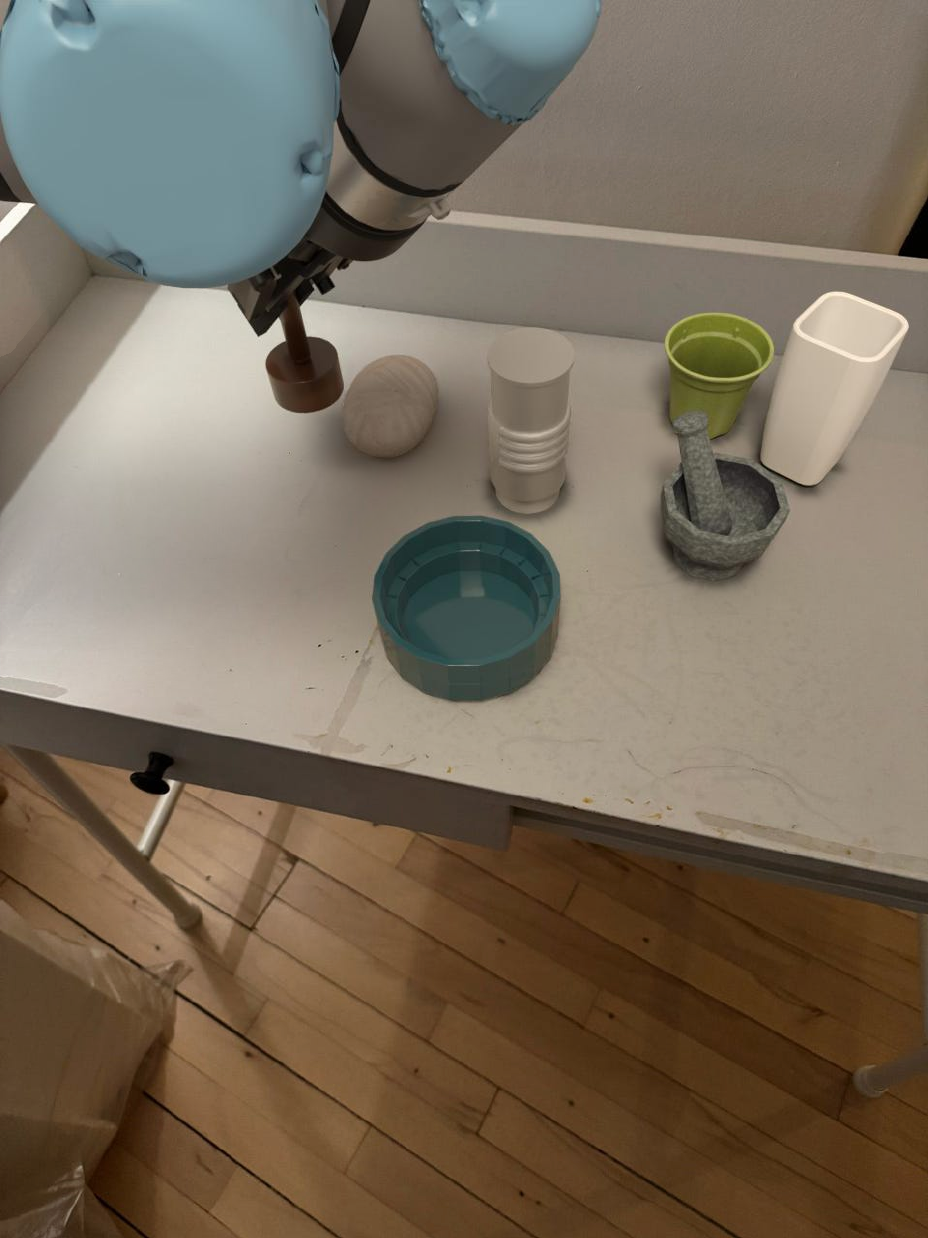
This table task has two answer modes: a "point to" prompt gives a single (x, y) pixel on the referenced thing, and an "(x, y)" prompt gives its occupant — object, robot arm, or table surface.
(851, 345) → the cup
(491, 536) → the bowl
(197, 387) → the table surface
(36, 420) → the table surface
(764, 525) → the mortar and pestle
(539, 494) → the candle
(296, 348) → the wooden peg stand
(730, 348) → the plant pot
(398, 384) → the decorative stone
